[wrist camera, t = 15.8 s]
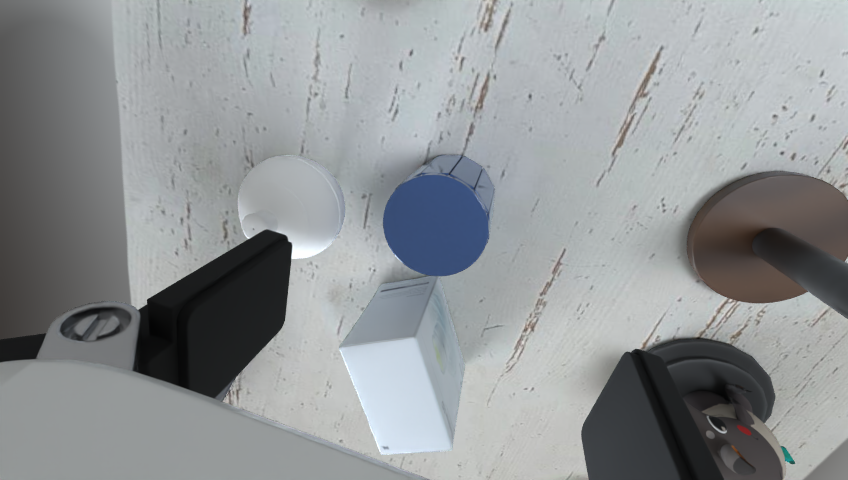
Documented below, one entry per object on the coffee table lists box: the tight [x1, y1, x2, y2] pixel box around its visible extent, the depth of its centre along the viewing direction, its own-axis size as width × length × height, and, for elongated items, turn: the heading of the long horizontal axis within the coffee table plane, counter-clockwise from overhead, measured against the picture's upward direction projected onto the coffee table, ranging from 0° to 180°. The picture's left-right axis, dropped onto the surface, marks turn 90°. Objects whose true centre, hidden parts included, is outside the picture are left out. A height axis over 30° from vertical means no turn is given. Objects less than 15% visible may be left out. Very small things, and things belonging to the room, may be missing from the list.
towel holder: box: [687, 171, 848, 319], centre depth 23 cm, size 10×10×14 cm
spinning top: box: [238, 155, 345, 259], centre depth 30 cm, size 8×8×12 cm
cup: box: [383, 155, 495, 276], centre depth 30 cm, size 7×7×8 cm
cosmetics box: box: [339, 276, 465, 455], centre depth 34 cm, size 10×6×10 cm, turn 16°
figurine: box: [648, 339, 795, 480], centre depth 30 cm, size 11×12×12 cm
